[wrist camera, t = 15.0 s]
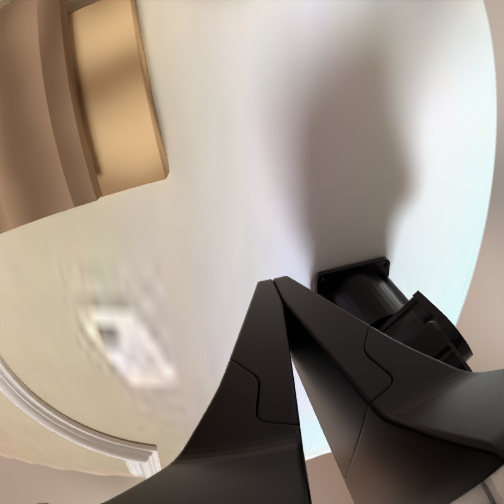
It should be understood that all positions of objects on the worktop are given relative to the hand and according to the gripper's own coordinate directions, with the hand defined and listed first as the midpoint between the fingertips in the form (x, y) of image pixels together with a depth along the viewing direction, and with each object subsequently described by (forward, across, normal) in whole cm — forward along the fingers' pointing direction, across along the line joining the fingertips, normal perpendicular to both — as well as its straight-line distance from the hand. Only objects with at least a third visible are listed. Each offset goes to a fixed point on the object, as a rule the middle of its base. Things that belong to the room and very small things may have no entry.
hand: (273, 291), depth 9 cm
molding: (+13, +30, +23) cm, 40 cm away
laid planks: (+12, +14, -9) cm, 20 cm away
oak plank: (+12, +6, -8) cm, 16 cm away
